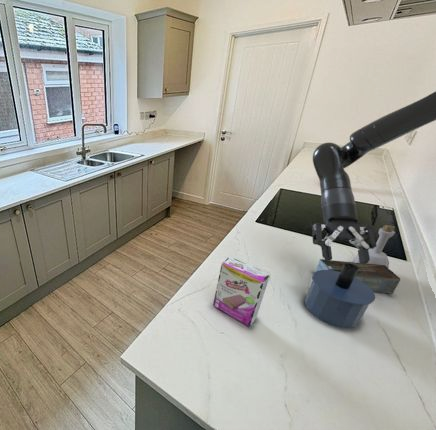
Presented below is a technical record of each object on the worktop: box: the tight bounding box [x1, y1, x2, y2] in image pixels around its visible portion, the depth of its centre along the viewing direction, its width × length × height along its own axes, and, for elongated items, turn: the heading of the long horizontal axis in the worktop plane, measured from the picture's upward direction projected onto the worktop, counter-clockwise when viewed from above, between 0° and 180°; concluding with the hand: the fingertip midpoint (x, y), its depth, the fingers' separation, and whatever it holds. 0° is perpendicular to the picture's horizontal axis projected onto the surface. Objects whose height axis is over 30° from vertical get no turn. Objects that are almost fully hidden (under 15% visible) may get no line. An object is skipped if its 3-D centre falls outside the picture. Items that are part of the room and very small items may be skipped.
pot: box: [304, 280, 370, 329], centre depth 75 cm, size 13×13×9 cm
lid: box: [311, 263, 376, 306], centre depth 71 cm, size 14×14×8 cm
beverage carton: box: [315, 258, 401, 295], centre depth 85 cm, size 8×19×7 cm, turn 77°
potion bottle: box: [353, 224, 396, 269], centre depth 89 cm, size 9×9×18 cm
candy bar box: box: [212, 256, 271, 328], centre depth 73 cm, size 11×5×16 cm, turn 43°
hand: (346, 261), depth 72 cm, fingers open, 8 cm apart
